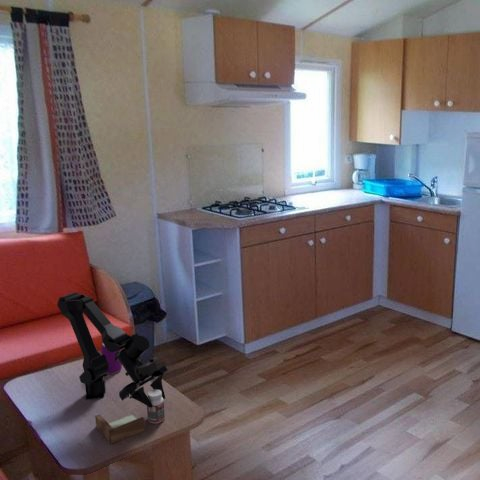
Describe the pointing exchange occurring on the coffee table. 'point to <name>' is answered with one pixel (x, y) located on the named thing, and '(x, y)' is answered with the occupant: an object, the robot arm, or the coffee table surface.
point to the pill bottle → (156, 407)
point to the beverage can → (111, 360)
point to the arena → (120, 427)
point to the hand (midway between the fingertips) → (158, 402)
